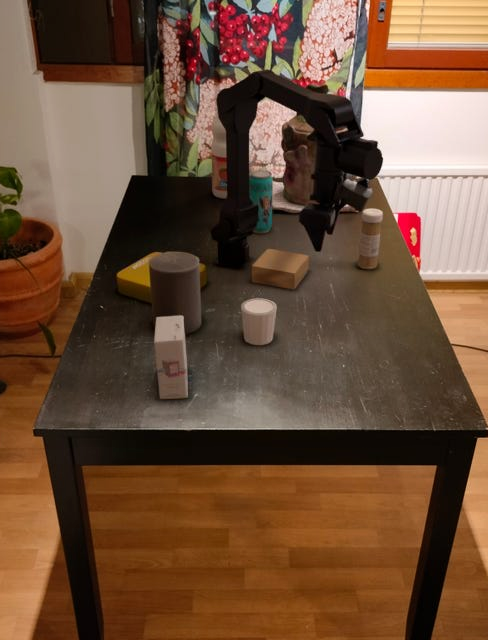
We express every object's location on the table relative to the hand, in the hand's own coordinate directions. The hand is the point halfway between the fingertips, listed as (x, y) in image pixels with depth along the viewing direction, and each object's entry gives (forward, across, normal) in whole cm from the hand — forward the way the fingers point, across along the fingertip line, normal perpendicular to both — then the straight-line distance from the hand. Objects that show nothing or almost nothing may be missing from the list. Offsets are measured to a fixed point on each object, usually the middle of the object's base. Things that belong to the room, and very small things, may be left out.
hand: (324, 242), depth 145 cm
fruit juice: (+14, +54, +42) cm, 70 cm away
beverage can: (+14, +32, +25) cm, 42 cm away
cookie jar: (+14, +59, +19) cm, 63 cm away
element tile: (+14, -6, +34) cm, 37 cm away
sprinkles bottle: (+14, +20, -6) cm, 25 cm away
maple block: (+13, +8, +12) cm, 19 cm away
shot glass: (+14, -19, +7) cm, 25 cm away
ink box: (+14, -40, +16) cm, 45 cm away
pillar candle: (+14, -20, +24) cm, 34 cm away
